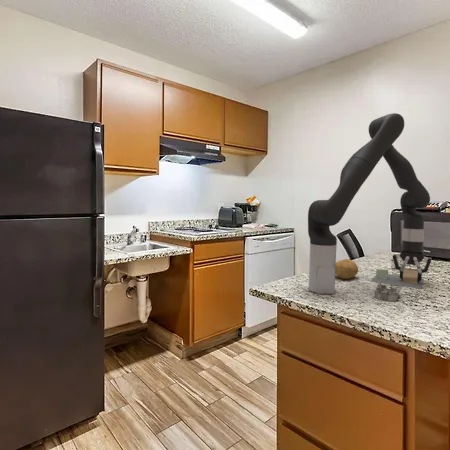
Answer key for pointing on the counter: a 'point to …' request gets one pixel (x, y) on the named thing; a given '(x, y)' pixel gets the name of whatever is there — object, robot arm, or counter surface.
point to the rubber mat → (398, 281)
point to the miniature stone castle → (386, 293)
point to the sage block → (382, 273)
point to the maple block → (410, 275)
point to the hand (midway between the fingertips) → (410, 280)
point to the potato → (346, 269)
